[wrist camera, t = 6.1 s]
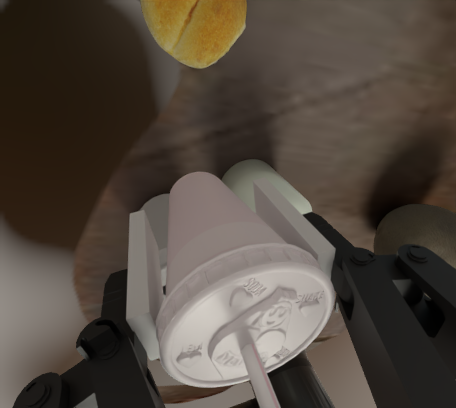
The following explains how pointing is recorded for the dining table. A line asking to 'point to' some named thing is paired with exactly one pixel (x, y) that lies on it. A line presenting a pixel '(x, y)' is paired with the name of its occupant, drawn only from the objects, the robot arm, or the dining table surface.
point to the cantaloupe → (418, 231)
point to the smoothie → (234, 292)
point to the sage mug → (255, 169)
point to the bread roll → (195, 27)
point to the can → (159, 229)
